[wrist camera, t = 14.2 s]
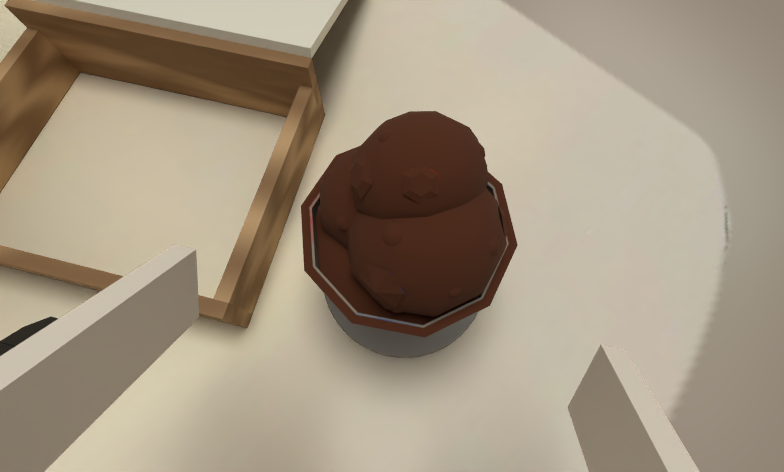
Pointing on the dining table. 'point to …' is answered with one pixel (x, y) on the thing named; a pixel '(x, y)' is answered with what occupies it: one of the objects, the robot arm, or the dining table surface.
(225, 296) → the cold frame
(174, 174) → the dining table surface
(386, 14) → the dining table surface
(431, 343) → the coaster
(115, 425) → the dining table surface
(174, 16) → the lid
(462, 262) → the ice cream bowl
